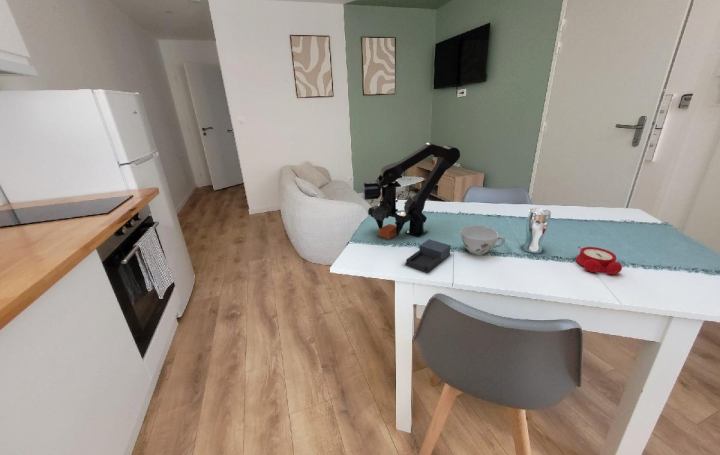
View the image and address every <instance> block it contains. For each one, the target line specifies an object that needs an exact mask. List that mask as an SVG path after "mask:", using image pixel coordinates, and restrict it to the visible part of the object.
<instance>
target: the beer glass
mask: <svg viewBox="0 0 720 455" xmlns="http://www.w3.org/2000/svg"><path fill="white" fill-rule="evenodd" d="M528 210H529V211H528V214H527V218H526V222H525V223H526V224H525V241H524V244H523V246H522V249H523V250H524V251H525V252H528V253H531V254H540V253H542V252H543V242H544V239H545V237H546V235H547V232H548V230H549V227H550V223H551V216H552V212H551V210H549V209H546V208H540V207H533V208H530V209H528Z"/></svg>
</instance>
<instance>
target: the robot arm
mask: <svg viewBox="0 0 720 455" xmlns="http://www.w3.org/2000/svg"><path fill="white" fill-rule="evenodd" d="M430 156H436V163H435V165H434V167H433V168H432V170H431V171H430V173H429V174H428V175H427V177H426V179H425V180H424V182H423V183H422V185H421V186H420V188H419V190H418V191H417V193H416V194H414V195H413V196H412V195H409V196H408V197H407V200H405V202H404V203H403V204H404V206H403V210H404V211H401V212H398V211H399V208H397V203H399V199H398V198H397V188H401V187H402V185H401V183H399V182H398V179H399V178H400V177H401V176H402V175H403V174H404V173H405V172H406V171H408V170H409V169H410V168H412V167H413V166H415V165H417V164H419V163H420V162H422V161H423V160H425V159H427V158H428V157H430ZM460 158H461V151H460V149H458V147H455V146H451V145H445V146H441V145H437V144H434V143H432V142H427V143H425V144H424V145H423V146H422V147H420V148H418V149H416V150H415V151H413V152H412V153H409V155H407V156H405V157H404V158H402V159H400V160H398V161H395V162H392V163H389V164H386V165H384V166H383V167H381V169H380V173H379V175H378V177H377V178H376V180H375V182H373V181H372V182H368V181H367V182H363V189H362V193H363V200H364V201H367V200H378V199H379V198H380V197H381V200H379V205H378V204H377V205H373V206H371V207H369V208H368V210H367V215H369V216H370V217H371V218H373V219H374V220H375V222H376V224H377V227H378V230H379V229H380V228H382V227H384V226H383V225H384V220H385V219H389V217H390V218H394V220H395V222H394V225H396V234H397V235H396V236H397V237H398V236H399V235H400V233H401V232H402V229H403V228H404V225H405V224H406V223H408V222H409V227H408V228H409V229H408V230H407V231H406V234H409V235H411V236H415V237H421V236H422V235H424V234H426V233H427V232H428V231H427V230H426V229H425V228H424V227H425V223H426V222H427V219H428V218H427V216H426V215H425V214H424V213H423V211H424V209H425V205H426V201H427V199H428V198H429V197H430V196H431V194H432V192H433V190H434V189H435V187H437V185H438V184H439V182H440V180H441V178H442V177H443V176H444V174H445V173H446V172H447V171H448V170H449V169H450V168H452V167H453V166H454V165H455V164H456V163H457V162H458V161H459V159H460Z"/></svg>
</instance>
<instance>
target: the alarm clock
mask: <svg viewBox="0 0 720 455" xmlns="http://www.w3.org/2000/svg"><path fill="white" fill-rule="evenodd" d="M577 248H578V249H580V251H579V254H578V255H577V256H576V257H575V261H576V263H577V264H578V265H580V266H581V267H584V270H586V271H587V272H590V273H597V272H599V273H603V274H609V275H618V274H619V273H621V271H622V270H623V266H622V264H621V262H618V261H617V255H616V253H613V252H612V251H609V250H607V249H605V248H601V247H596V246H584V247H581V246H578V247H577Z"/></svg>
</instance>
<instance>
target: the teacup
mask: <svg viewBox="0 0 720 455" xmlns="http://www.w3.org/2000/svg"><path fill="white" fill-rule="evenodd" d="M460 238H461V242H462V243H463V245H464V247H465V249H466V250H467V251H468V252H469V253H470V254H471V255H472V254H473V255H475V256H482V255H485V254H486V253H488V252H490V251H491V250H492V249H496V248H501V247H502V246H503V245H505V242H506V238H505V237H504V236H502V235H501V236H500V235H499V233H498V232H497V231H496V230H495V229H493V228H491V227H488V226H485V225H480V224H479V225H475V224H473V225H468V226H464V227H462V228H461V229H460ZM499 240H501V241H502V242H501V243H500V244H497V245H496V243H497V242H498V241H499Z"/></svg>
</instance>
